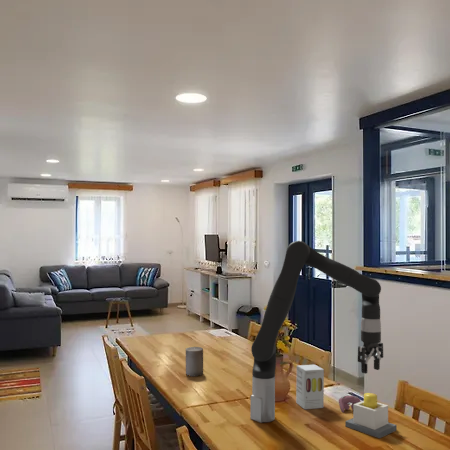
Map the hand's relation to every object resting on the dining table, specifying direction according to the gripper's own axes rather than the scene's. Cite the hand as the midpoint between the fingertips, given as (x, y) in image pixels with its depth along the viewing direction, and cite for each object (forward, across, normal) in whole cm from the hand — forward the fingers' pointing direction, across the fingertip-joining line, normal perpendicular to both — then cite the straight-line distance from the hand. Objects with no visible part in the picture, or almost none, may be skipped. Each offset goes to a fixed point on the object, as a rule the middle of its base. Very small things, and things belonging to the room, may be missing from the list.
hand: (370, 371), depth 188 cm
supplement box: (+22, +2, +32) cm, 39 cm away
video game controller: (+22, +11, +17) cm, 30 cm away
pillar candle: (+23, -8, +104) cm, 107 cm away
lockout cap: (+15, 0, 0) cm, 15 cm away
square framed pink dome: (+22, 0, 0) cm, 22 cm away
